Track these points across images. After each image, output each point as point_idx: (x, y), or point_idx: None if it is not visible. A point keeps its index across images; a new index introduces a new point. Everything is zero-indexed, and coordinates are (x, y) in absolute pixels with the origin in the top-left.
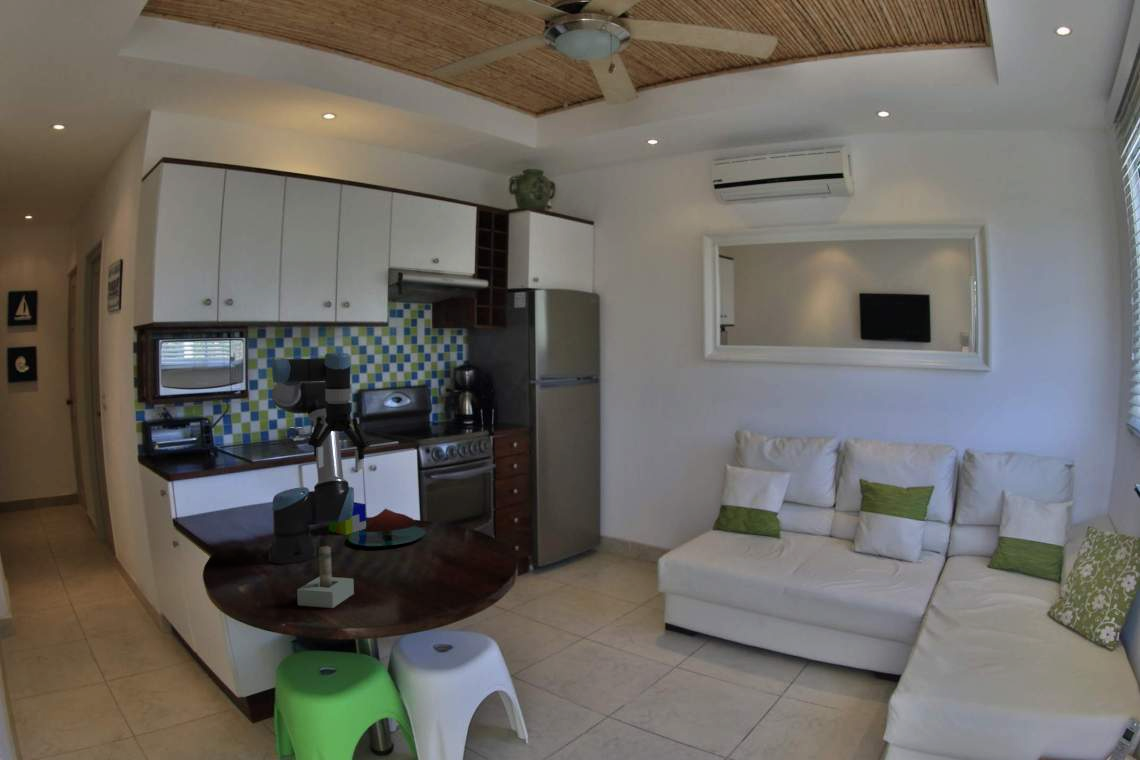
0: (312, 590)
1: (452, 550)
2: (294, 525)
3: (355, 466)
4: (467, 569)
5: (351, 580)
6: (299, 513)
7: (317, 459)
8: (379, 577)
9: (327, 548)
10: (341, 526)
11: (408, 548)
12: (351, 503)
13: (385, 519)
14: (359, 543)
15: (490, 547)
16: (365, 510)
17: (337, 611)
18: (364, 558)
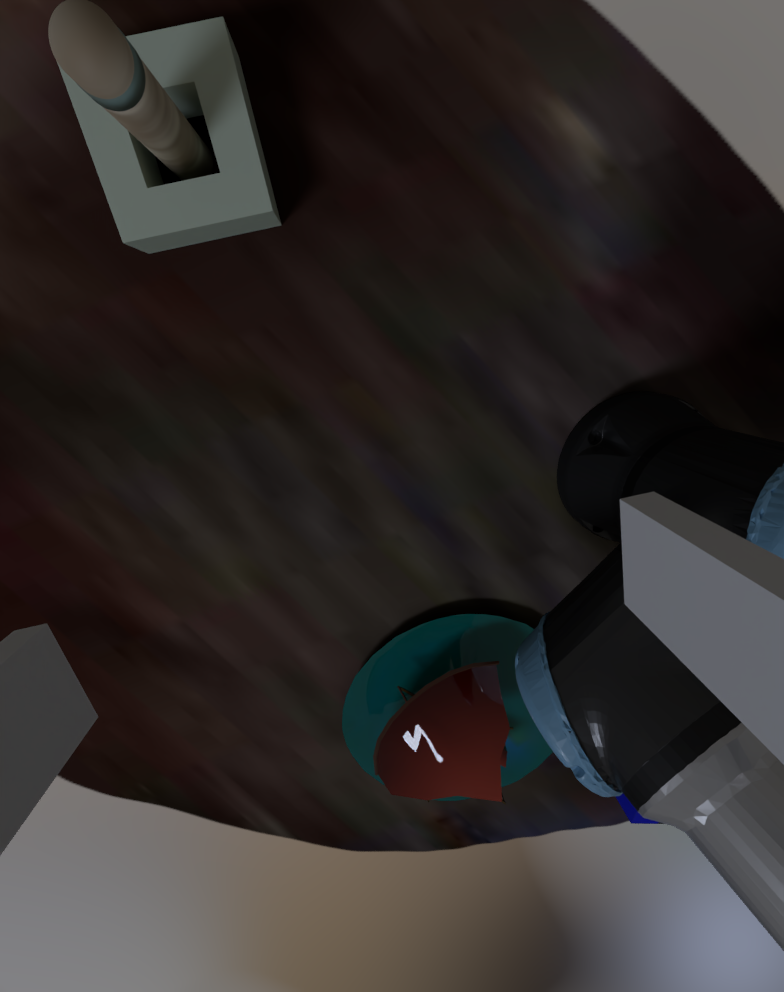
0: (150, 33)
1: (192, 704)
2: (670, 469)
3: (4, 662)
4: (3, 595)
5: (118, 227)
6: (689, 504)
7: (734, 551)
8: (203, 424)
9: (59, 39)
10: None
11: (333, 668)
12: (524, 689)
13: (454, 742)
14: (487, 625)
15: (108, 764)
16: (618, 800)
17: (44, 63)
18: (393, 547)
